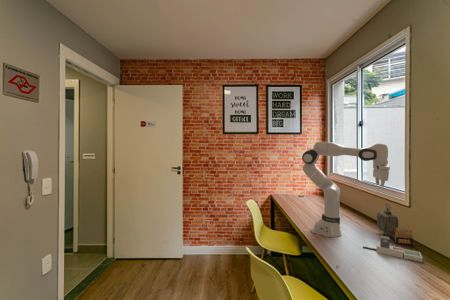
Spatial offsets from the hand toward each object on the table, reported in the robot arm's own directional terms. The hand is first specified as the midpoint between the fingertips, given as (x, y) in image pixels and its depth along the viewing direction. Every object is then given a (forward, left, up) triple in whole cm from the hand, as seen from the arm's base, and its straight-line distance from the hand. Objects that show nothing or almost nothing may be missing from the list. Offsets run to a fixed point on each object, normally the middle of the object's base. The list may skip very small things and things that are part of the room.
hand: (379, 185), depth 166 cm
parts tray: (+18, -12, -43) cm, 48 cm away
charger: (+3, -13, -42) cm, 44 cm away
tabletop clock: (+6, +22, -43) cm, 48 cm away
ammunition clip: (+16, +9, -43) cm, 47 cm away
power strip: (+2, -13, -43) cm, 45 cm away
